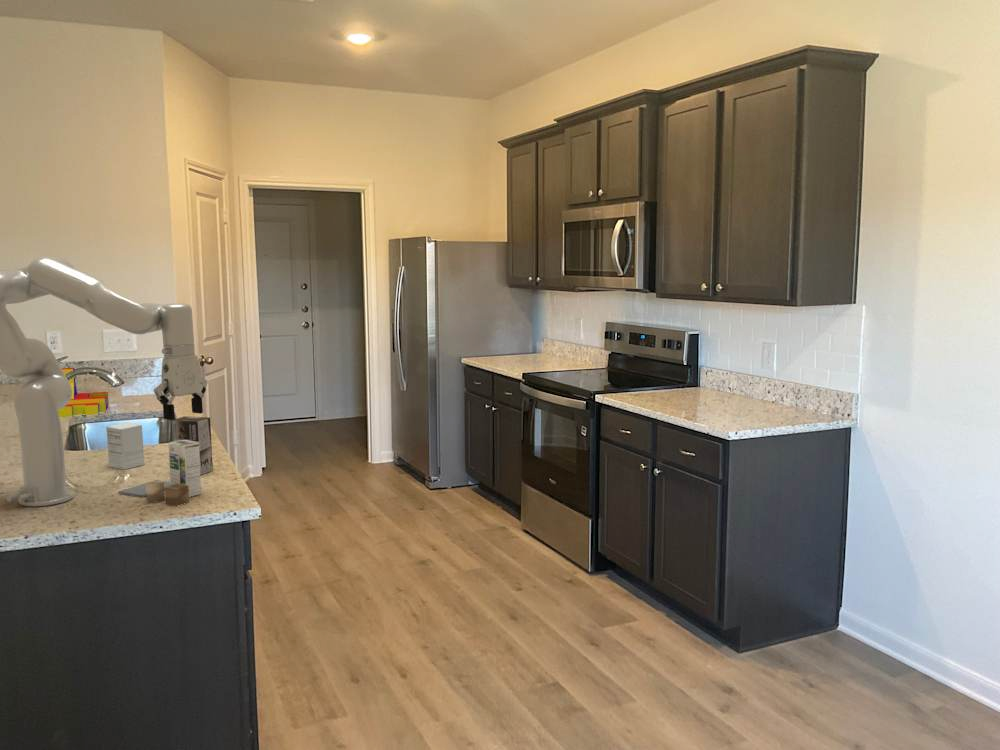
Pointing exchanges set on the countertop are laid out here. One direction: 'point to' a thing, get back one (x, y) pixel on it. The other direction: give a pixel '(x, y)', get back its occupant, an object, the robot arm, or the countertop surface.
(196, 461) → the syrup box
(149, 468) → the countertop surface
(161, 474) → the countertop surface
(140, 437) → the supplement box
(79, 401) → the building blocks toy
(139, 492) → the slate mat
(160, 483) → the birch cylinder
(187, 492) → the walnut block
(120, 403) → the countertop surface
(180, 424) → the coffee box
